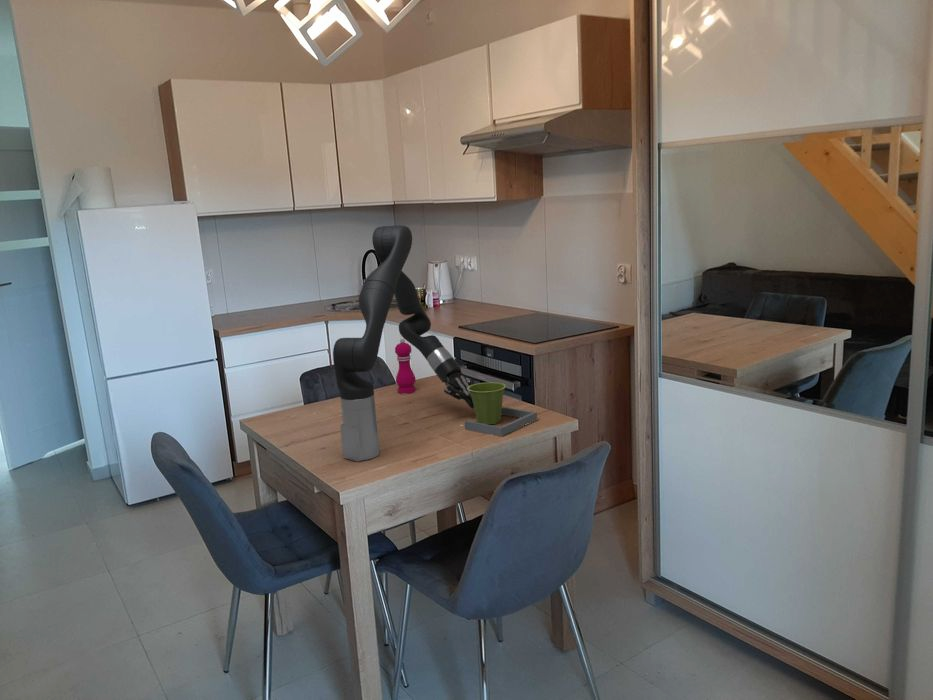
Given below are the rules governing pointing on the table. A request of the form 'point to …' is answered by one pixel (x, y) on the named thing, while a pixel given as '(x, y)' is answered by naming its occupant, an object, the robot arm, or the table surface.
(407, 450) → the table surface
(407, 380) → the pepper mill
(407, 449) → the table surface
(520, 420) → the bay
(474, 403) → the plant pot
